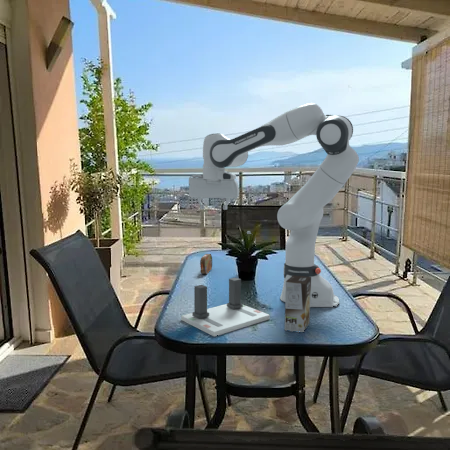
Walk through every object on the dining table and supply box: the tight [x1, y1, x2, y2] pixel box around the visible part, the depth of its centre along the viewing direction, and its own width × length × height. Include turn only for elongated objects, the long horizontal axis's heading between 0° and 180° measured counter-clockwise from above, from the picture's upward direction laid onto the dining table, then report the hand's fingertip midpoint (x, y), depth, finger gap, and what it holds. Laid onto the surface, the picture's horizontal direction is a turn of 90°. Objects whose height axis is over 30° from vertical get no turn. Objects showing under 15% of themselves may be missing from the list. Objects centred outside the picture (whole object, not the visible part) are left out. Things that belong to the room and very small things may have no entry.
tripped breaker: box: [191, 284, 209, 319], centre depth 142 cm, size 4×4×10 cm
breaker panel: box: [180, 303, 271, 338], centre depth 145 cm, size 18×24×2 cm
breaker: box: [226, 277, 244, 309], centre depth 152 cm, size 4×4×10 cm
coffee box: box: [284, 275, 311, 333], centre depth 138 cm, size 9×6×16 cm
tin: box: [199, 253, 213, 275], centre depth 209 cm, size 15×3×8 cm, turn 168°
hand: (213, 209), depth 173 cm, fingers open, 8 cm apart
